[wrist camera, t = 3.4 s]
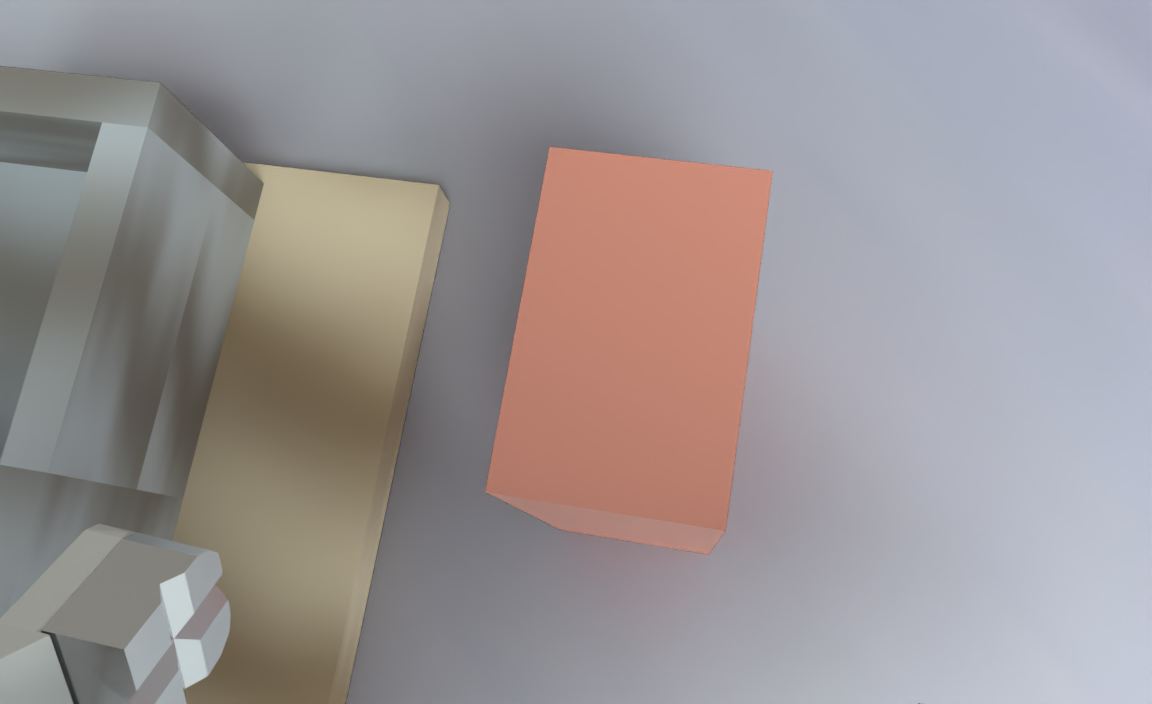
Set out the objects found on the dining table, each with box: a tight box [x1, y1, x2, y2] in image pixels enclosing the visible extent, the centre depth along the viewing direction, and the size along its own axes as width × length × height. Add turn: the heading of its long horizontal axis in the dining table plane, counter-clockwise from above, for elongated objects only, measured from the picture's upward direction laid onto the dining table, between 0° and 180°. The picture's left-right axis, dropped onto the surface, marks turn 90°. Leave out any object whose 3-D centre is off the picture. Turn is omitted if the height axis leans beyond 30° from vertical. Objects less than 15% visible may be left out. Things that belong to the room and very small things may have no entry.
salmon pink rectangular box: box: [485, 147, 773, 555], centre depth 19 cm, size 6×4×9 cm, turn 170°
